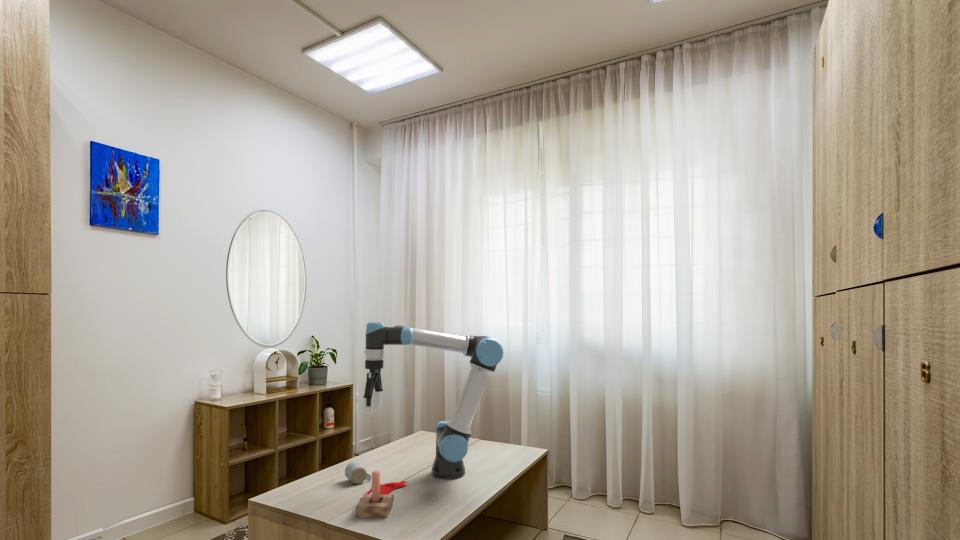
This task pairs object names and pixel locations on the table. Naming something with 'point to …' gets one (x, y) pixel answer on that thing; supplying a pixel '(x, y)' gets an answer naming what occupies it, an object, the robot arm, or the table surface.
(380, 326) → the robot arm
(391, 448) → the table surface
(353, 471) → the ceramic mug
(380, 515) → the square frame
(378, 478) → the dowel
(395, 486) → the cloth
